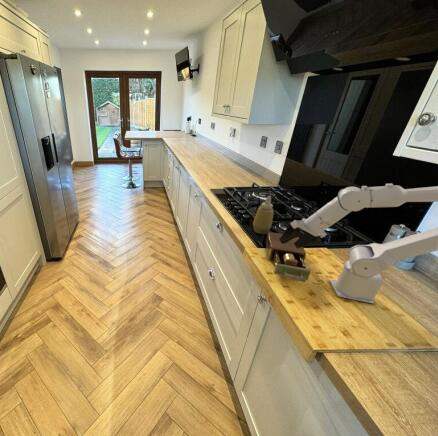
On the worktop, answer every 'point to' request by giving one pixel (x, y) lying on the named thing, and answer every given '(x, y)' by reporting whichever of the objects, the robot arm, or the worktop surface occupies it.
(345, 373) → the worktop surface
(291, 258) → the small brown jar
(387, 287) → the worktop surface
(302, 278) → the drawer
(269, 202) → the squeeze bottle
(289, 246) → the cabinet
